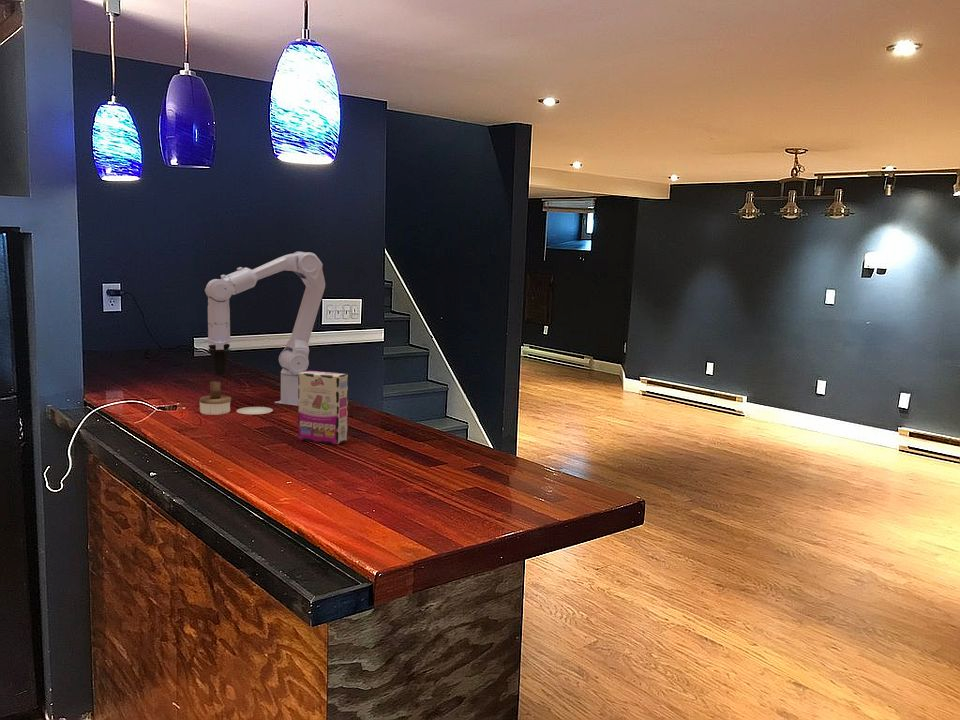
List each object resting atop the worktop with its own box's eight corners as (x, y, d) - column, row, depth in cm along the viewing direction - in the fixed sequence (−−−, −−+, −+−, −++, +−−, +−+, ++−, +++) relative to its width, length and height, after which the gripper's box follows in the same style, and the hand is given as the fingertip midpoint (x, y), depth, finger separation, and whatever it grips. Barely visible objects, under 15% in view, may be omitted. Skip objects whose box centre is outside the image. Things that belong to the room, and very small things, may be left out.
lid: (237, 400, 212) (237, 381, 211) (217, 405, 205) (217, 385, 204) (213, 397, 215) (213, 378, 214) (193, 402, 207) (192, 382, 207)
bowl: (235, 412, 212) (235, 400, 212) (217, 417, 205) (216, 405, 205) (213, 409, 215) (212, 397, 214) (194, 414, 208) (194, 402, 207)
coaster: (279, 411, 216) (279, 409, 216) (258, 417, 207) (258, 415, 207) (251, 407, 219) (251, 405, 219) (228, 413, 211) (228, 411, 210)
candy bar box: (348, 440, 187) (349, 373, 185) (337, 445, 183) (338, 376, 180) (308, 435, 191) (308, 369, 189) (296, 439, 187) (297, 372, 184)
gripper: (203, 320, 218) (204, 368, 220) (203, 326, 205) (204, 376, 207) (229, 320, 221) (230, 367, 223) (231, 326, 207) (232, 376, 209)
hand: (219, 372), depth 215 cm, fingers open, 7 cm apart
